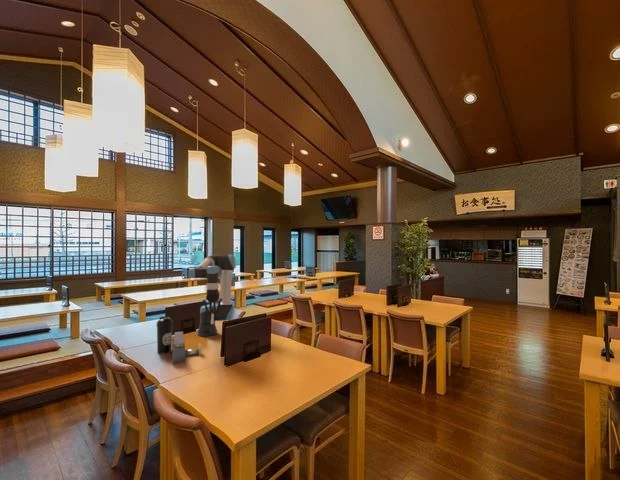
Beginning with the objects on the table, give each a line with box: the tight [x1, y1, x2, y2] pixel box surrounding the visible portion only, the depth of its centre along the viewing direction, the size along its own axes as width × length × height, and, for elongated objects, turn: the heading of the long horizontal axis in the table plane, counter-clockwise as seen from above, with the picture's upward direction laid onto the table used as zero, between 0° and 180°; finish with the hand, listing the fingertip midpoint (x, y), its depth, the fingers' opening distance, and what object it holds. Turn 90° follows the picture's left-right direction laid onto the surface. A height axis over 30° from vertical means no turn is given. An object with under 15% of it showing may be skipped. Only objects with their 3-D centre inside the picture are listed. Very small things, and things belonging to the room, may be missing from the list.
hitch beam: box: [171, 337, 186, 365], centre depth 196 cm, size 22×7×11 cm, turn 25°
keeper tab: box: [174, 331, 184, 346], centre depth 191 cm, size 1×5×8 cm, turn 115°
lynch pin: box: [185, 342, 203, 357], centre depth 201 cm, size 10×7×6 cm, turn 115°
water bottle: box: [156, 315, 174, 354], centre depth 207 cm, size 10×10×23 cm
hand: (212, 323), depth 207 cm, fingers closed
